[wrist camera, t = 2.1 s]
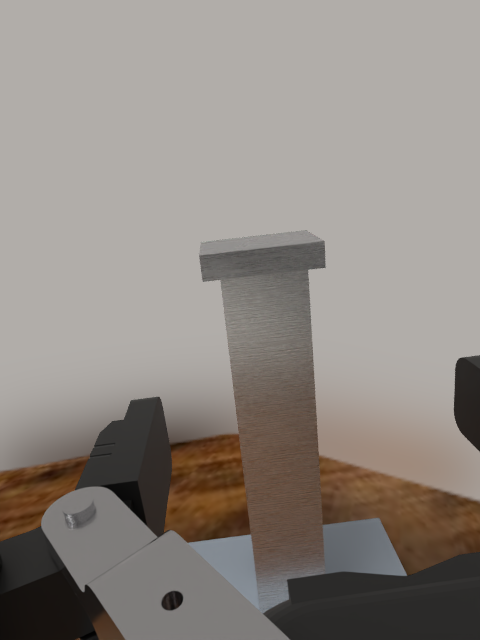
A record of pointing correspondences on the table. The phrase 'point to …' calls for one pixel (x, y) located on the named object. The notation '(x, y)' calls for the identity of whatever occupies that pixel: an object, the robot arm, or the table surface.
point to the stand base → (339, 552)
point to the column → (274, 398)
